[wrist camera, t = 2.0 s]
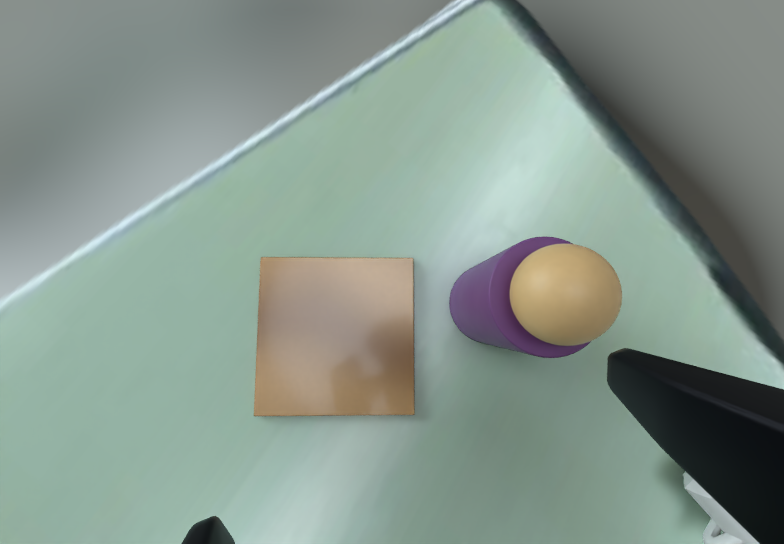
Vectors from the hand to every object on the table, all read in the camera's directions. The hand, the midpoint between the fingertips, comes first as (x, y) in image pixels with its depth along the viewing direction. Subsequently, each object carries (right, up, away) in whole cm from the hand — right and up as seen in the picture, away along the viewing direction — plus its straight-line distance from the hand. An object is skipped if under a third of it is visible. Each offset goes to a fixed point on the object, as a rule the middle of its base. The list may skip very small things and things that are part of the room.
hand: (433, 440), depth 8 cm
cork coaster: (-4, 0, +16) cm, 17 cm away
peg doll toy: (+6, +1, +17) cm, 18 cm away
